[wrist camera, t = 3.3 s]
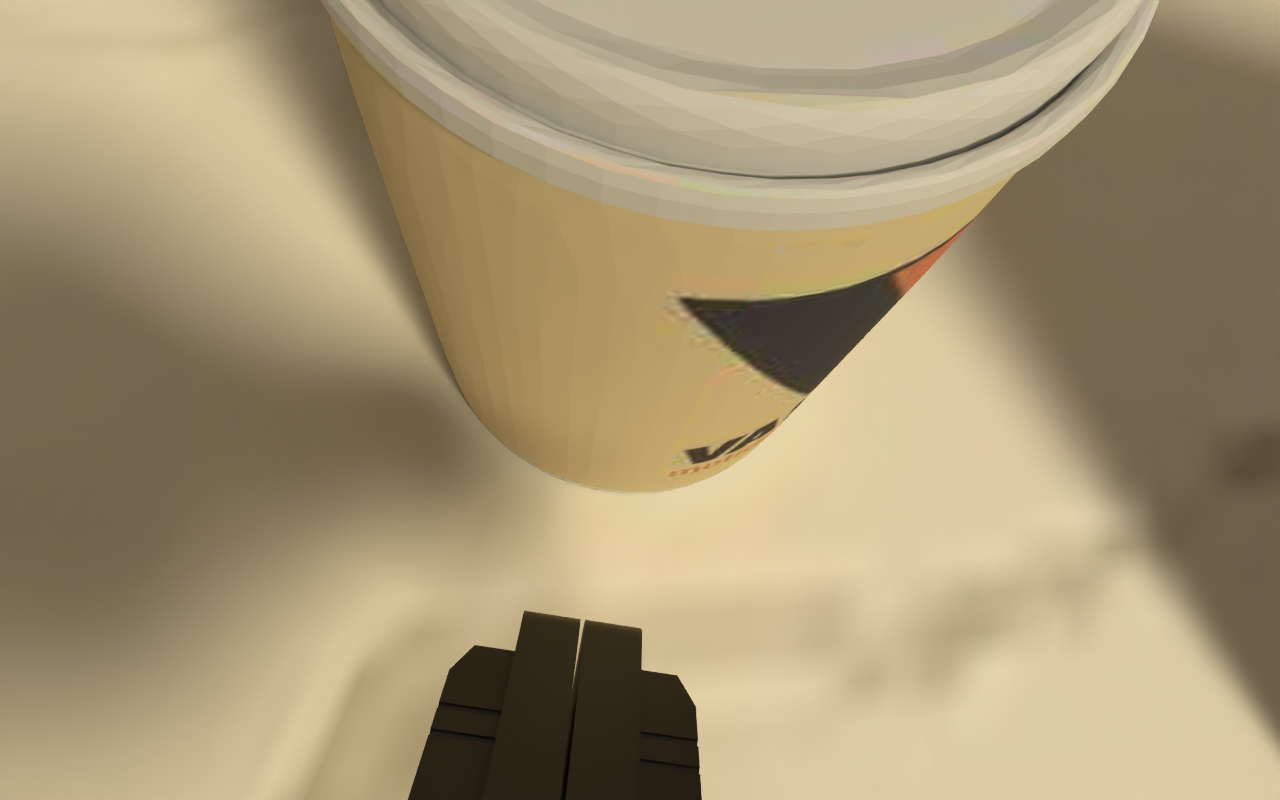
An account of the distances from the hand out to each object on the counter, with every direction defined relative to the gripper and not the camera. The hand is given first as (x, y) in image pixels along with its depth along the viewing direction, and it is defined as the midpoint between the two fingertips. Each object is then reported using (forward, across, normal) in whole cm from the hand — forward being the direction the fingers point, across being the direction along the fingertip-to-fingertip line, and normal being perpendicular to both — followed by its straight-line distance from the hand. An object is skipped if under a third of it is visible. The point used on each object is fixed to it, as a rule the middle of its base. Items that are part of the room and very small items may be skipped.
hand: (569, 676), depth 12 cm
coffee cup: (+10, 0, -2) cm, 10 cm away
